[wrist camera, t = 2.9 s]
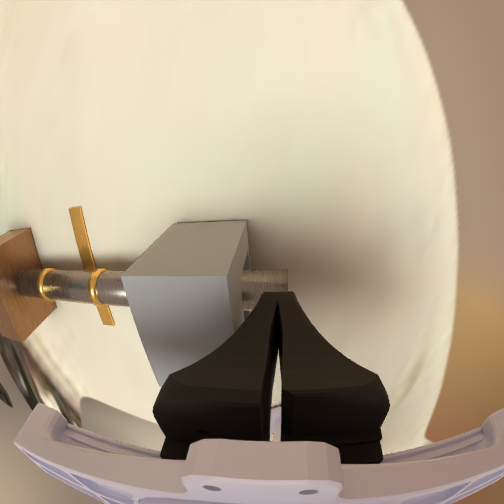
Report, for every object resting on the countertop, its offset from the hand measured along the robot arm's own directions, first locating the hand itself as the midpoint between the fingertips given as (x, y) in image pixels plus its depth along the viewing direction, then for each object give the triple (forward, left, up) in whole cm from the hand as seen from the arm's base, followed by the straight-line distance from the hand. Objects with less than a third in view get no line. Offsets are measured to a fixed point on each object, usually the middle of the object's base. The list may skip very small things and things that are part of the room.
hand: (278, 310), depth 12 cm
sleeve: (+2, +3, -4) cm, 5 cm away
